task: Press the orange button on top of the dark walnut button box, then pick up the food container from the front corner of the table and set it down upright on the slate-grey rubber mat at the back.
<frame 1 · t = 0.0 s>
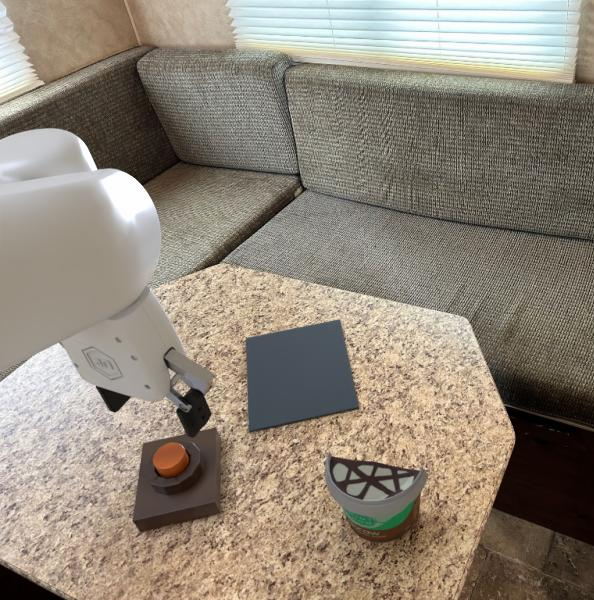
hand: (161, 413, 61), 22 cm above the table, tool pointing down, fingers open, 9 cm apart
button: (171, 460, 78), point 5 cm above the table, slide at 0.1 cm
food container: (376, 528, 74), on the table
mat: (298, 371, 95), on the table
button box: (183, 482, 81), on the table
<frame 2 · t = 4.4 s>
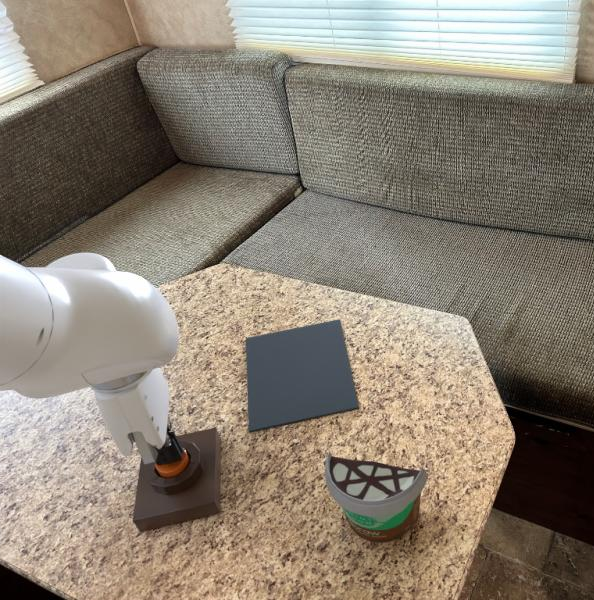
hand: (170, 457, 78), 5 cm above the table, tool pointing down, fingers closed
button: (173, 463, 78), point 4 cm above the table, slide at -0.7 cm, touching gripper
everything else where it was.
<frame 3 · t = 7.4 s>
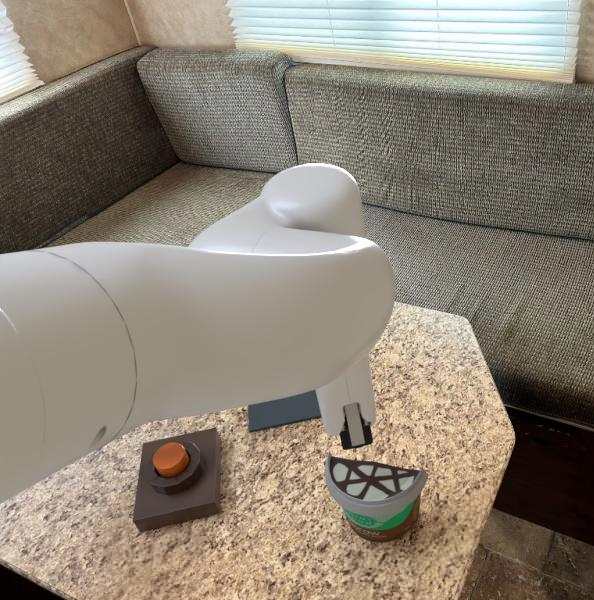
hand: (356, 441, 63), 17 cm above the table, tool pointing down, fingers closed
button: (171, 460, 78), point 5 cm above the table, slide at 0.1 cm
everything else where it was.
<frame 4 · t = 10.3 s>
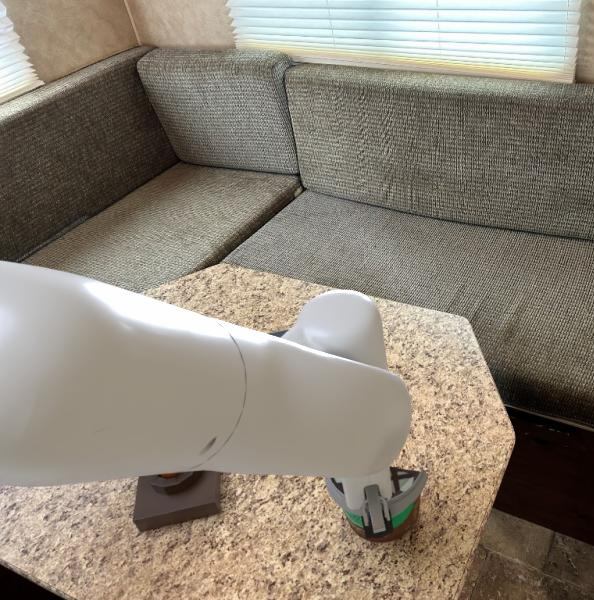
hand: (372, 501, 71), 5 cm above the table, tool pointing down, fingers closed on food container, 7 cm apart
food container: (376, 528, 74), on the table, touching gripper
everything else where it was.
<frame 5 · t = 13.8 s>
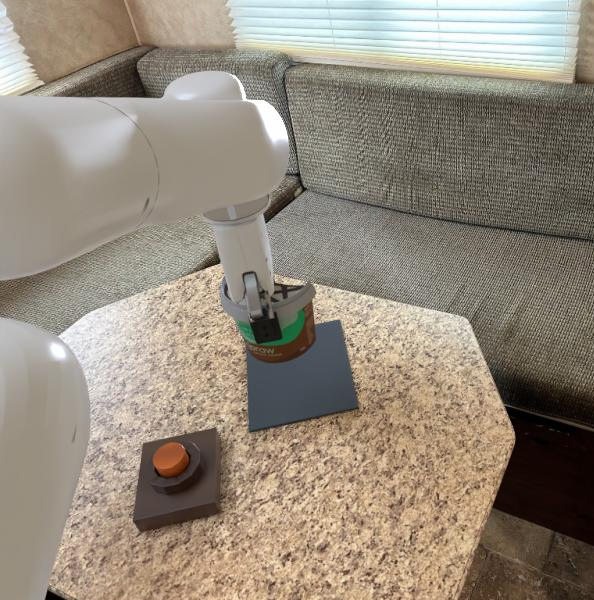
hand: (267, 318, 76), 19 cm above the table, tool pointing down, fingers closed on food container, 7 cm apart
food container: (275, 354, 79), point 14 cm above the table, touching gripper
everything else where it was.
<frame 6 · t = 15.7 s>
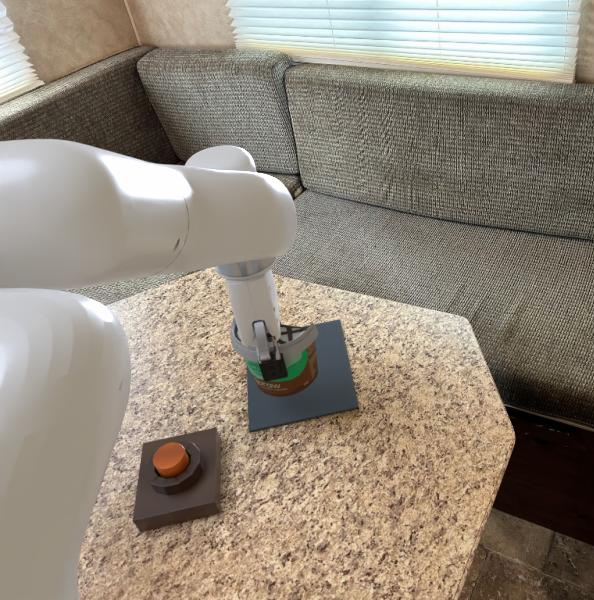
hand: (274, 356, 83), 11 cm above the table, tool pointing down, fingers closed on food container, 7 cm apart
food container: (281, 387, 86), point 5 cm above the table, touching gripper
everything else where it was.
when the fingers open (6 cm above the table, at t = 17.4 s): food container stays where it is, resting on mat.
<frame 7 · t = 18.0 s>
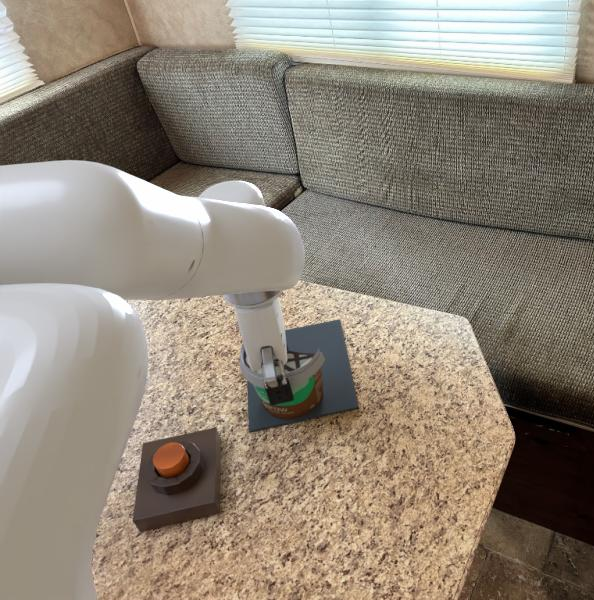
hand: (280, 375, 85), 7 cm above the table, tool pointing down, fingers open, 9 cm apart
food container: (287, 410, 89), resting on mat
everything else where it was.
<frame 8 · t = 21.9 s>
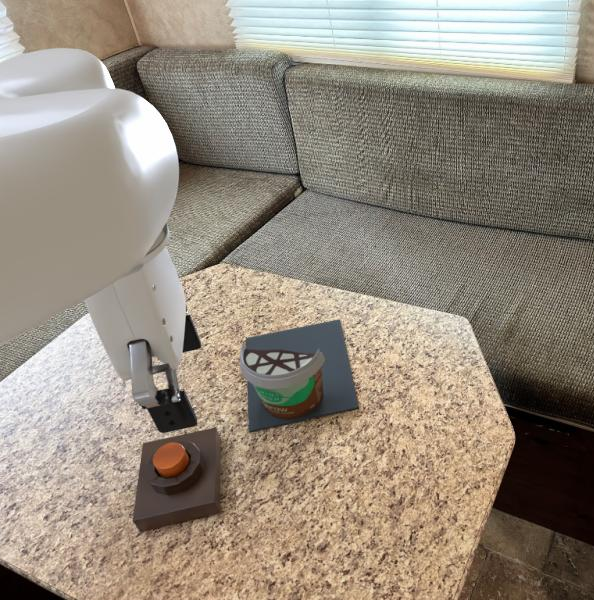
hand: (182, 386, 56), 28 cm above the table, tool pointing down, fingers open, 9 cm apart
nothing on the table moved.
at the end: button pushed in 1.1 cm at the most during the clip, back to where it started at the end; food container inside the target area on the mat (1.3 cm from its centre), point 0.2 cm above the mat's base; food container tilted 0° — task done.
